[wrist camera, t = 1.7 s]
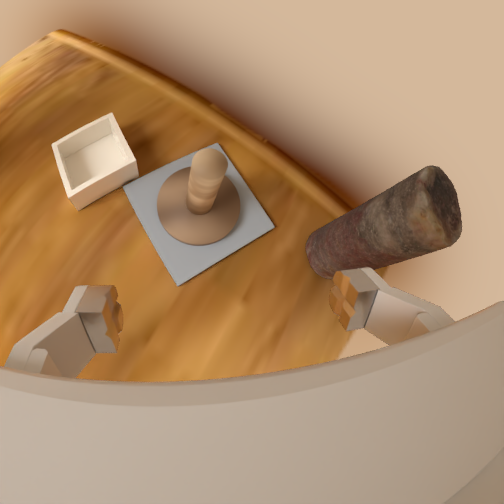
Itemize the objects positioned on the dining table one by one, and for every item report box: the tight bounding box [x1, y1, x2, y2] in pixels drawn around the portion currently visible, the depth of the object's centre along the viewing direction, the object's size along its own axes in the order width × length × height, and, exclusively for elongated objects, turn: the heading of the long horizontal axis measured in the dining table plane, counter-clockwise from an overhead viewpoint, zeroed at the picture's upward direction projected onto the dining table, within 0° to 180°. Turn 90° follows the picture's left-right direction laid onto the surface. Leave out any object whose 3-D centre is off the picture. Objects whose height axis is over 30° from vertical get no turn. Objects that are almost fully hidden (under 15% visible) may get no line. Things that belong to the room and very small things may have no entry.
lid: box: [157, 148, 240, 246], centre depth 27 cm, size 10×10×10 cm
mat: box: [123, 143, 275, 286], centre depth 32 cm, size 14×14×1 cm
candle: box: [306, 166, 462, 280], centre depth 27 cm, size 8×7×20 cm
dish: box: [52, 113, 139, 211], centre depth 28 cm, size 9×9×4 cm
